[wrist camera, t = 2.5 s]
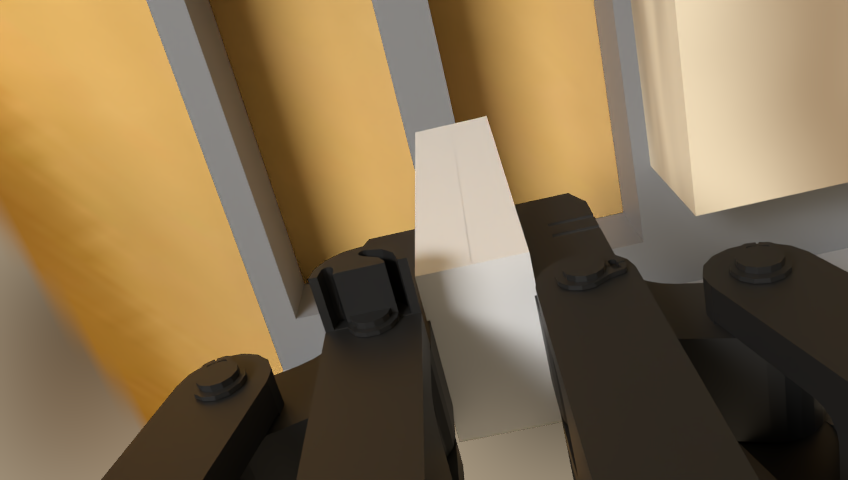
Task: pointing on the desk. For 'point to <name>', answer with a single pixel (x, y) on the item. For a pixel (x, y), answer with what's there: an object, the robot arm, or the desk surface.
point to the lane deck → (430, 108)
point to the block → (744, 97)
